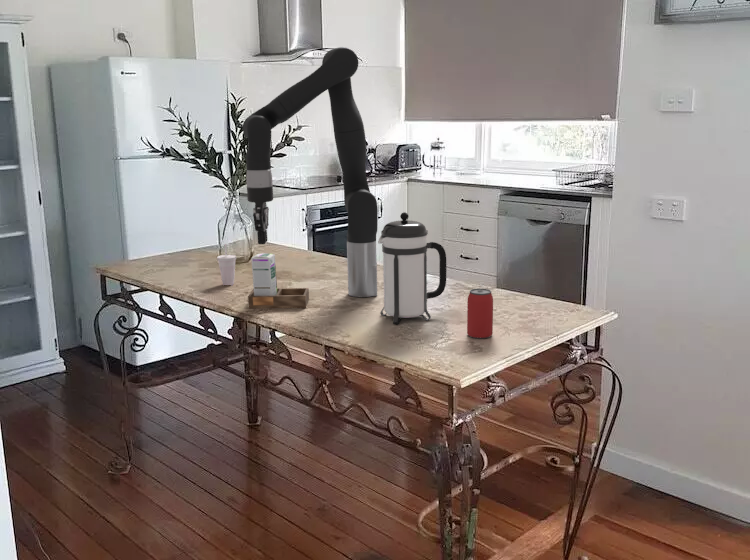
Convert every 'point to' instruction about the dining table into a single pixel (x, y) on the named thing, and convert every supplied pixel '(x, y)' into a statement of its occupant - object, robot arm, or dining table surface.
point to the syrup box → (264, 274)
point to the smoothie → (227, 267)
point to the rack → (280, 299)
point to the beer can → (480, 313)
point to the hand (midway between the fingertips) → (262, 242)
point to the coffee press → (408, 269)
